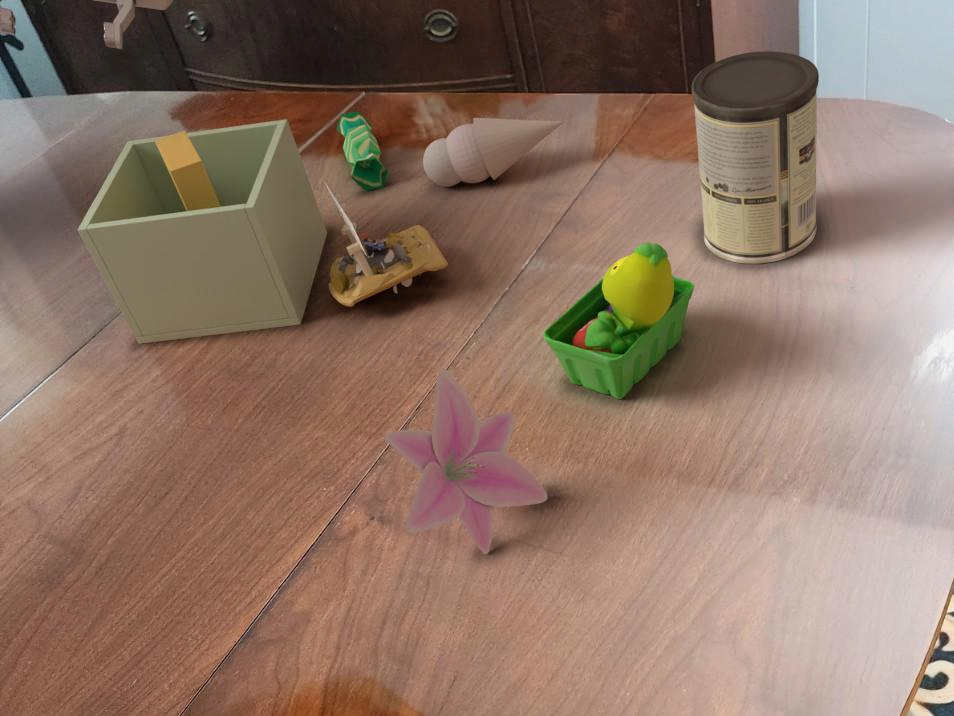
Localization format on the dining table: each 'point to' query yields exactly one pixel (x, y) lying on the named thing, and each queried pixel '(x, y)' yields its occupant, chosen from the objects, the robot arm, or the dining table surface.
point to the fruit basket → (622, 323)
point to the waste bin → (209, 236)
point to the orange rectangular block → (187, 172)
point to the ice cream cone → (482, 149)
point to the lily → (463, 466)
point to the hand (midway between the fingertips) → (59, 38)
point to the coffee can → (757, 155)
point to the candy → (362, 151)
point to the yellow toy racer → (380, 261)
